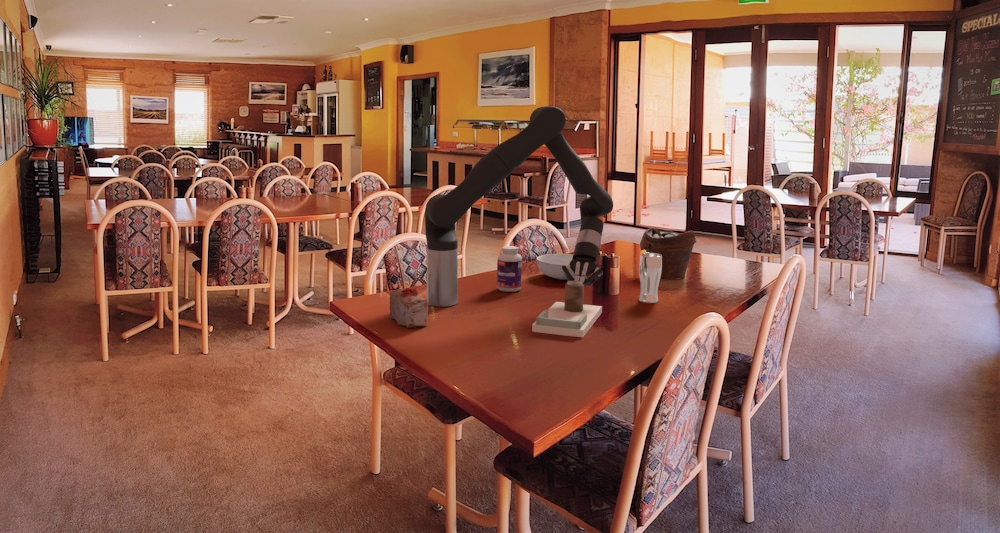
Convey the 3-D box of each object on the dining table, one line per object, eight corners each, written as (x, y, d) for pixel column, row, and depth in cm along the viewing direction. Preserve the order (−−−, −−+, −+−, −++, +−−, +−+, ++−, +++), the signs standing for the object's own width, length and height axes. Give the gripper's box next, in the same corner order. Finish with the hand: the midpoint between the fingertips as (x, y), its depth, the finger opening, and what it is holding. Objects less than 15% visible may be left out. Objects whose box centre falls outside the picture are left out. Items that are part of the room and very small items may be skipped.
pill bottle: (493, 291, 240) (493, 248, 237) (502, 286, 247) (503, 244, 244) (516, 293, 237) (517, 250, 234) (524, 288, 244) (525, 246, 241)
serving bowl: (578, 287, 248) (579, 267, 247) (525, 278, 259) (525, 260, 257) (603, 276, 265) (604, 257, 264) (552, 268, 276) (553, 251, 275)
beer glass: (661, 299, 233) (664, 253, 229) (656, 304, 226) (659, 257, 223) (640, 297, 235) (643, 251, 232) (634, 302, 229) (637, 255, 226)
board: (556, 308, 221) (556, 295, 220) (601, 312, 216) (602, 299, 215) (532, 331, 197) (532, 317, 196) (582, 337, 192) (583, 323, 191)
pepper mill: (567, 312, 209) (568, 284, 207) (562, 307, 214) (563, 280, 212) (585, 311, 210) (586, 284, 208) (579, 306, 215) (580, 279, 213)
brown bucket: (637, 268, 278) (640, 222, 274) (690, 271, 275) (694, 224, 271) (639, 280, 260) (642, 230, 256) (696, 283, 258) (700, 233, 254)
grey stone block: (432, 327, 199) (432, 292, 197) (406, 331, 195) (405, 296, 193) (410, 315, 210) (410, 282, 208) (385, 319, 206) (384, 285, 204)
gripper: (564, 239, 223) (553, 286, 214) (607, 242, 218) (597, 290, 210) (568, 253, 229) (557, 299, 220) (609, 256, 224) (600, 304, 216)
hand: (577, 295), depth 215 cm, fingers closed
